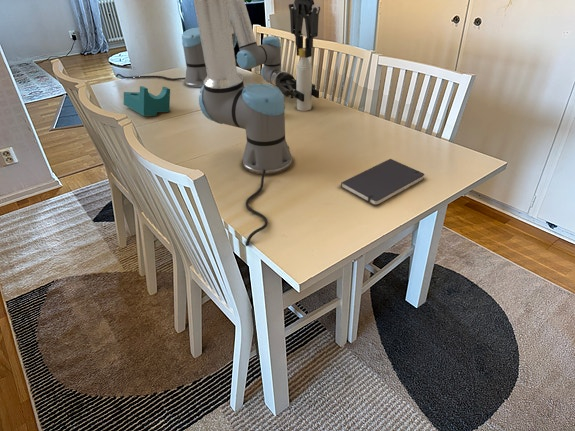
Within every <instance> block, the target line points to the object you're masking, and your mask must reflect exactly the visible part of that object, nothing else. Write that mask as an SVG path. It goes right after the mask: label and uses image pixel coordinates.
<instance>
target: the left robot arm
mask: <svg viewBox="0 0 575 431" xmlns="http://www.w3.org/2000/svg"><path fill="white" fill-rule="evenodd" d="M227 4H228V11H229V19H230V26H231V33H232V40H233V47H234V48H235V47H236V45H237V46H238V52H237V54H236V64H237V65H238V66H239V67H240V68H241V69H243V70H250V69H254V68H256V67H259V66H262V65H263V66H262V68H261V70H260V74H261V75H260V76H261V78H262V79H263V80H264V81H265V82H266V83H267V84H270V85H272V86H275V87H277V88H278V89H279V90H280V91H281V92H282V94H283V96H285V97H286V98H289V97H290V99H294V98H295V99H296V100H297V99H299V100H300V101H302V102H303V101H304V94H302V93H301V92H299V91H297V87H296V79H295V77H294V75H292V74H291V73H289V72H287V71H285V70H283V69H282V53H281V52H282V50H281V48H282V46H281V39H280V37H278V36H276V35H275V36H274V35H270V36H265V37H263V38H262V44H259V45H258V42H257V40H256V37H255V32H254V29H253V25H252V22H251V19H250V16H249V11H248V9H247V5H246V1H245V0H227ZM181 44H182V47H183V54H184V59H185V66H186V68H185V69H186V70H185V77H174V78H173V77H167V76H165V75H136V76H135V75H134V76H124V75H122V74H121V73H117V74H116V75H115V77H116V78H118V77H121V78H122V79H127V80H128V79H129V80H130V79H142V78H144V79H145V78H146V79H147V78H158V79H164V80H169V81H181V80H184V83H185V86H187V87H190V88H202V86H203V85H204V83H203V82H204V80H205V78H206V77H207V71H206V65H205V60H204V55H203V49H202V44H201V38H200V33H199V27H198V26H197V27H192V28H189V29H187V30H185V31H183V33H182V34H181ZM139 76H140V77H139ZM133 77H135V78H133ZM312 97H313V98H315V99H319V97H320V90H318V89H316V84H314V83H312Z"/></svg>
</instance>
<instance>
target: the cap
mask: <svg viewBox="0 0 575 431" xmlns="http://www.w3.org/2000/svg"><path fill="white" fill-rule="evenodd" d="M298 57H305V47H303V48H299V56H298Z"/></svg>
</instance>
